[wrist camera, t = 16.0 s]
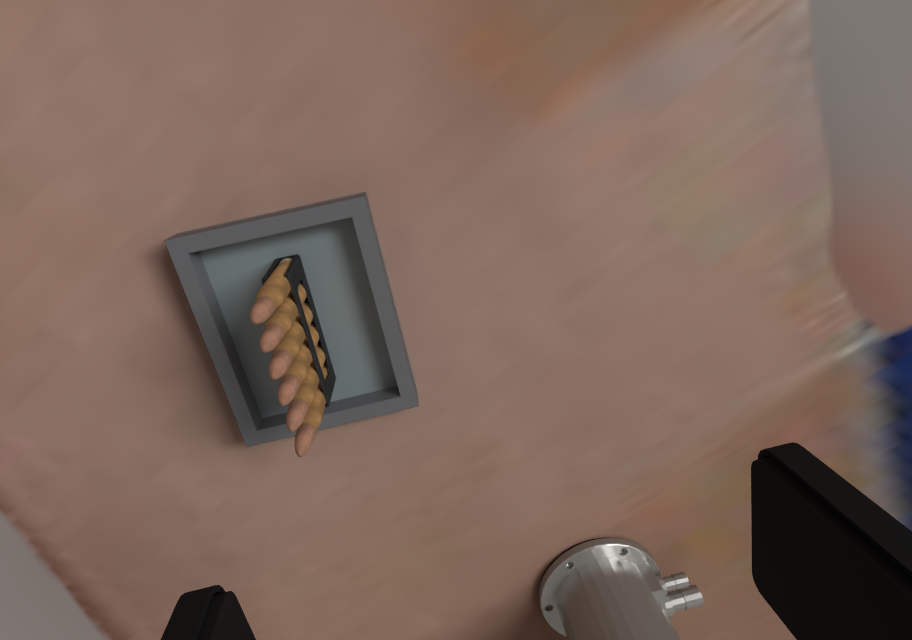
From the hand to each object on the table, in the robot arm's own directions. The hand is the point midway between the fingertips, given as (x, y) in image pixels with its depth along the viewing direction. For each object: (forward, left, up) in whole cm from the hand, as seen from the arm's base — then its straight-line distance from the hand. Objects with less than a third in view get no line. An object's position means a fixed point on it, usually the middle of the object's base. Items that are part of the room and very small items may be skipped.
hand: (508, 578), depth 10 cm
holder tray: (+10, +5, -34) cm, 36 cm away
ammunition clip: (+10, +5, -34) cm, 36 cm away
